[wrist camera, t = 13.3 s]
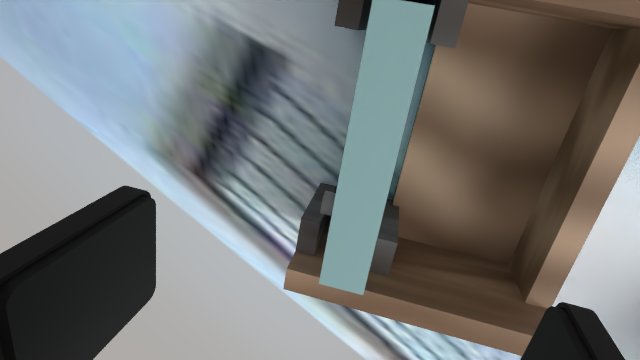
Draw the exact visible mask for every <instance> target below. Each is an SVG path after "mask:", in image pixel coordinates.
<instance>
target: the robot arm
mask: <svg viewBox="0 0 640 360" xmlns="http://www.w3.org/2000/svg"><path fill="white" fill-rule="evenodd" d="M155 288H156V203H155V201H154V199H152V198H151V195H150V193H149V192H147V191H145V190H141V189H137V188H133V187H129V186H122V187H120V188H118V189H116V190H115V191H113V192H111V193H109V194H107V195H106V196H104V197H102V198H100V199H98V200H96V201H95V202H93V203H91V204H89V205H87V206H86V207H84V208H82V209H80V210H79V211H77V212H75V213H73V214H71V215H69V216H68V217H66V218H64V219H62V220H61V221H59V222H57V223H55V224H53V225H51V226H50V227H48V228H46V229H44V230H42V231H40V232H39V233H37V234H35V235H33V236H32V237H30V238H28V239H26V240H24V241H22V242H21V243H19V244H17V245H15V246H13V247H12V248H10V249H8V250H6V251H4V252H3V253H1V254H0V360H93V358H95V357H96V356H97V354H98V353H99V352H100V351H101V350H102V349H103V348H104V347H105V346H106V345H107V344H108V343H109V342H110V341H111V340H112V339H113V338H114V337H115V336H116V335H117V334H118V332H119V331H120V330H121V329H122V328H123V327H124V326H125V325H126V324H127V323H128V322H129V321H130V320H131V319H132V318H133V317H134V316H135V315H136V314H137V313H138V311H140V309H141V308H142V307H143V306H144V305H145V304H146V303H147V302H148V301H149V300H150V299H151V297H152V296H153V293H154V291H155ZM521 360H625V359H624V357H623V356H622V354H621V352H620V351H619V349H618V348H617V346H616V345H615V343H614V341H613V340H612V338H611V337H610V335H609V334H608V332H607V331H606V329H605V327H604V326H603V324H602V323H601V321H600V320H599V318H598V316H597V315H596V314H595V312H594V311H592V310H590V309H587V308H583V307H579V306H575V305H572V304H568V303H564V302H562V303H559V304H558V305H557V306H556V307H553V306H551V307H549V308H547V310H546V311H545V313H544V315H543V317H542V319H541V321H540V323H539V325H538V327H537V329H536V331H535V333H534V334H533V336H532V338H531V340H530V342H529V344H528V346H527V348H526V350H525V352H524V354H523V356H522V358H521Z"/></svg>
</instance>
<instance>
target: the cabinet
mask: <svg viewBox="0 0 640 360" xmlns="http://www.w3.org/2000/svg"><path fill="white" fill-rule="evenodd" d="M371 5H372V0H339V3H338V9H337V15H336V21H335V26H339V27H344V28H349V29H355V30H367V26H368V21H369V15H370V10H371ZM434 6H435V7H434V11H433V15H432V19H431V23H430V27H429V31H428V36H427V40H426V41H427V42H428V43H430V44H433V45H435V48H434V52H433V55H432V59H431V63H430V66H429V70H428V74H427V77H426V81H425V85H424V88H423V92H422V96H421V99H420V103H419V107H418V110H417V114H416V117H415V121H414V125H413V128H412V132H411V136H410V139H409V143H408V147H407V150H406V154H405V158H404V161H403V165H402V169H401V172H400V176H399V180H398V183H397V187H396V191H395V194H394V198H393V200H388V199H387V201H386V205H385V209H384V213H383V217H382V221H381V225H380V229H379V233H378V237H377V241H376V245H375V249H374V253H373V257H372V262H371V266H370V270H369V274H368V278H367V282H366V286H365V290H364V294H363V295H360V294H356V293H353V292H349V291H345V290H341V289H337V288H333V287H330V286H326V285H322V284H319V280H320V275H321V269H322V264H323V259H324V253H325V248H326V243H327V238H328V232H329V227H330V222H331V216H330V215H326V214H321V213H320V210H321V204H322V200H323V196H324V193H325V191H330V192H334V193H335V191H336V187H335V186H331V185H327V184H323V183H321V184H320V186H319V187H318V189H317V191H316V193H315V195H314V196H313V198H312V200H311V202H310V204H309V205H308V207H307V209H306V211H305V213H304V215H303V216H302V218H301V223H300V229H299V235H298V240H297V246H296V251H295V253H294V255H293V257H292V259H291V261H290V263H289V265H288V267H287V271H286V277H285V283H284V289H286V290H289V291H293V292H296V293H300V294H304V295H307V296H311V297H314V298H318V299H321V300H325V301H328V302H332V303H336V304H339V305H343V306H346V307H350V308H353V309H357V310H360V311H364V312H368V313H371V314H375V315H378V316H382V317H385V318H389V319H392V320H396V321H400V322H403V323H407V324H410V325H414V326H417V327H421V328H424V329H428V330H431V331H435V332H439V333H442V334H446V335H449V336H453V337H456V338H460V339H463V340H467V341H471V342H474V343H478V344H481V345H485V346H488V347H492V348H495V349H499V350H503V351H506V352H510V353H513V354H517V355H520V356H523V354H524V352H525V350H526V348H527V346H528V344H529V342H530V340H531V338H532V336H533V334H534V333H535V331H536V329H537V327H538V325H539V323H540V321H541V319H542V317H543V315H544V313H545V311H546V310H547V308H549V307H551V306H552V305H553V303H554V301H555V299H556V297H557V295H558V293H559V291H560V289H561V287H562V285H563V283H564V281H565V280H566V278H567V276H568V274H569V272H570V270H571V268H572V266H573V264H574V262H575V260H576V258H577V256H578V254H579V252H580V250H581V249H582V247H583V245H584V243H585V241H586V239H587V237H588V235H589V233H590V231H591V229H592V227H593V225H594V223H595V221H596V219H597V218H598V216H599V214H600V212H601V210H602V208H603V206H604V204H605V202H606V200H607V198H608V196H609V194H610V192H611V190H612V189H613V187H614V185H615V183H616V181H617V179H618V177H619V175H620V173H621V171H622V169H623V167H624V165H625V163H626V161H627V159H628V158H629V156H630V154H631V152H632V150H633V148H634V146H635V144H636V142H637V140H638V138H639V136H640V0H435V4H434Z"/></svg>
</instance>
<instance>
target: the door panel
mask: <svg viewBox="0 0 640 360" xmlns="http://www.w3.org/2000/svg"><path fill="white" fill-rule="evenodd" d="M434 7H435V6H434V5H427V4H421V3H415V2H409V1H402V0H372V5H371V10H370V15H369V21H368V26H367V31H366V36H365V42H364V47H363V52H362V58H361V63H360V68H359V73H358V79H357V84H356V89H355V95H354V100H353V105H352V111H351V116H350V121H349V126H348V132H347V137H346V142H345V148H344V153H343V158H342V163H341V169H340V174H339V179H338V185H337V190H336V193H334V192H330V191H325V193H324V196H323V200H322V204H321V210H320V213H321V214H326V215H330V216H331V222H330V227H329V232H328V238H327V243H326V248H325V253H324V259H323V264H322V269H321V275H320V280H319V284H322V285H326V286H330V287H333V288H337V289H341V290H345V291H349V292H353V293H356V294H360V295H363V294H364V290H365V286H366V282H367V278H368V274H369V270H370V266H371V262H372V257H373V253H374V249H375V245H376V241H377V237H378V233H379V229H380V225H381V221H382V217H383V213H384V209H385V205H386V201H387V197H388V193H389V189H390V185H391V181H392V177H393V173H394V169H395V165H396V161H397V157H398V153H399V149H400V144H401V140H402V136H403V132H404V128H405V124H406V120H407V116H408V112H409V108H410V104H411V100H412V96H413V92H414V88H415V84H416V80H417V76H418V72H419V68H420V64H421V60H422V56H423V52H424V48H425V44H426V40H427V36H428V31H429V27H430V23H431V19H432V15H433V11H434Z"/></svg>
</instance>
